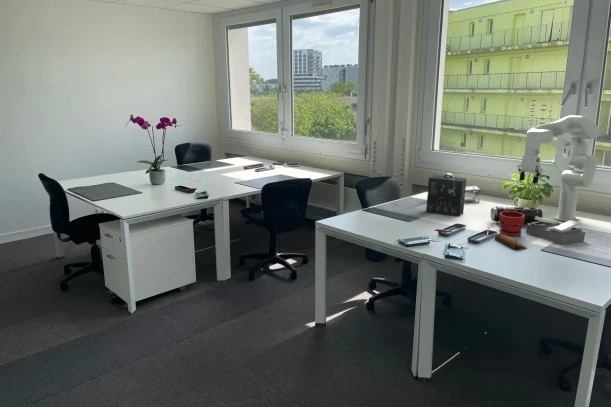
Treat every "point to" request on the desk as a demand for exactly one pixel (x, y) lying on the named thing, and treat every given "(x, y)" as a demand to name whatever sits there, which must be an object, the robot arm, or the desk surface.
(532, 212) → the muzzle brake
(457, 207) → the headset box
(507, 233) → the plant pot
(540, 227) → the panel
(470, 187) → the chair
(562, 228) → the rocker
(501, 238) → the brown pointed cylinder
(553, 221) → the plate
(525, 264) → the desk surface
